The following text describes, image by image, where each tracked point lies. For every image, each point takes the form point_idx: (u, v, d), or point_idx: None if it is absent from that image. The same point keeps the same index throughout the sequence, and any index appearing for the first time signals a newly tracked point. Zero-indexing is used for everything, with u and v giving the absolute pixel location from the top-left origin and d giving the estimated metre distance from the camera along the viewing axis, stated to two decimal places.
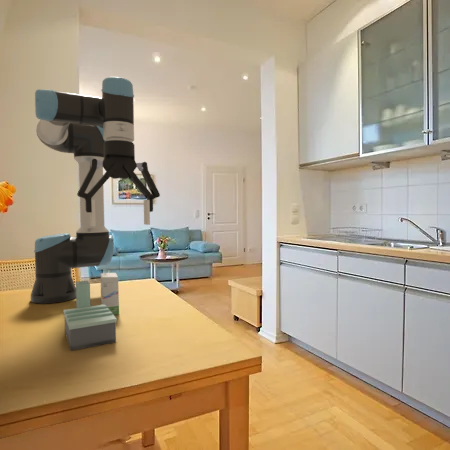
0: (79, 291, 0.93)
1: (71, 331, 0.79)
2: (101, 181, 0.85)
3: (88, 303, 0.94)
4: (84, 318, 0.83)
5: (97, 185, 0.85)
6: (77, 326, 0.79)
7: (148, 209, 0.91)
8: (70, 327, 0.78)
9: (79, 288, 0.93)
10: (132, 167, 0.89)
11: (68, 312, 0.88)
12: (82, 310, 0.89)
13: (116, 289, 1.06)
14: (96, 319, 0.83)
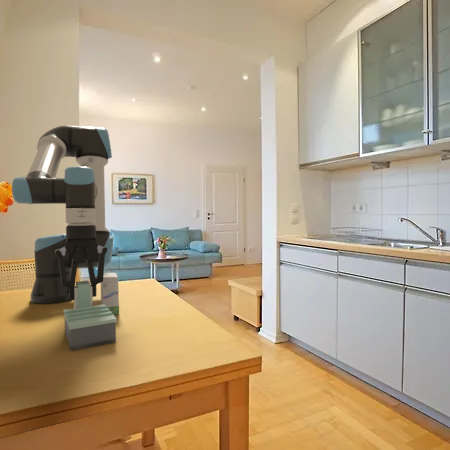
0: (79, 291, 0.93)
1: (71, 331, 0.79)
2: (73, 267, 0.93)
3: (88, 303, 0.94)
4: (84, 318, 0.83)
5: (72, 273, 0.93)
6: (77, 326, 0.79)
7: (91, 295, 0.95)
8: (70, 327, 0.78)
9: (79, 288, 0.93)
10: (92, 247, 0.95)
11: (68, 312, 0.88)
12: (82, 310, 0.89)
13: (116, 289, 1.06)
14: (96, 319, 0.83)
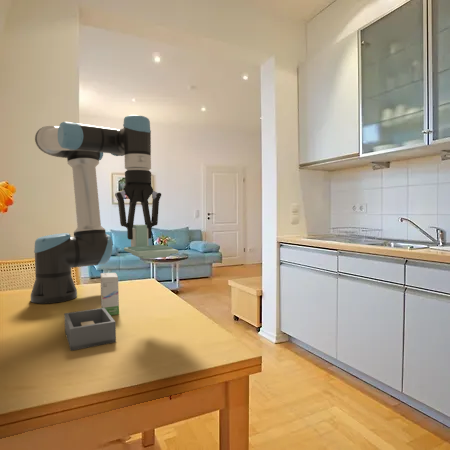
0: (137, 231, 1.00)
1: (71, 331, 0.79)
2: (132, 209, 1.00)
3: (145, 243, 1.01)
4: (148, 249, 0.90)
5: (131, 214, 1.00)
6: (145, 253, 0.86)
7: (147, 236, 1.03)
8: (139, 254, 0.85)
9: (137, 228, 1.00)
10: (148, 191, 1.03)
11: (130, 247, 0.95)
12: (142, 246, 0.97)
13: (116, 289, 1.06)
14: (160, 250, 0.90)
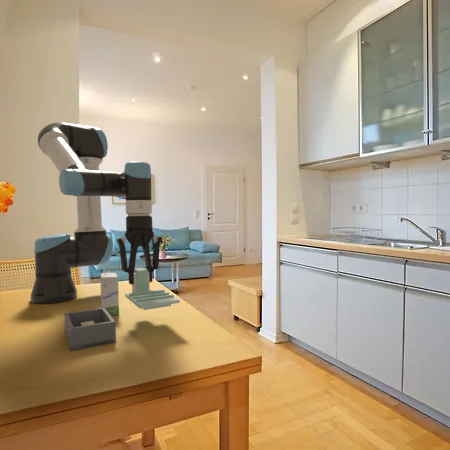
0: (139, 276, 1.00)
1: (71, 331, 0.79)
2: (133, 255, 1.01)
3: (146, 288, 1.02)
4: (150, 299, 0.91)
5: (132, 259, 1.01)
6: (146, 306, 0.87)
7: (148, 280, 1.03)
8: (141, 306, 0.86)
9: (139, 274, 1.00)
10: (149, 236, 1.03)
11: (132, 295, 0.95)
12: (143, 293, 0.97)
13: (116, 289, 1.06)
14: (161, 300, 0.90)
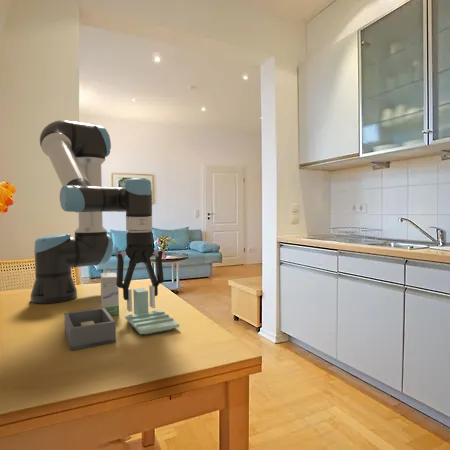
0: (139, 298, 1.01)
1: (71, 331, 0.79)
2: (131, 271, 1.01)
3: (146, 309, 1.02)
4: (150, 323, 0.91)
5: (129, 275, 1.00)
6: (146, 331, 0.87)
7: (153, 294, 1.04)
8: (141, 332, 0.86)
9: (139, 295, 1.01)
10: (150, 252, 1.03)
11: (132, 318, 0.96)
12: (143, 315, 0.97)
13: (116, 289, 1.06)
14: (161, 324, 0.91)
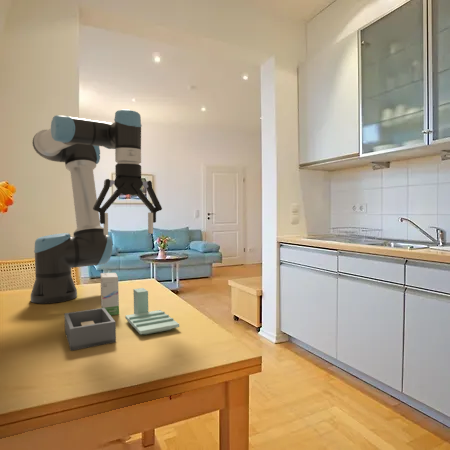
0: (139, 298, 1.01)
1: (71, 331, 0.79)
2: (113, 197, 1.02)
3: (146, 309, 1.02)
4: (150, 323, 0.91)
5: (110, 201, 1.02)
6: (146, 331, 0.87)
7: (152, 220, 1.08)
8: (141, 332, 0.86)
9: (139, 295, 1.01)
10: (139, 185, 1.06)
11: (132, 318, 0.96)
12: (143, 315, 0.97)
13: (116, 289, 1.06)
14: (161, 324, 0.91)
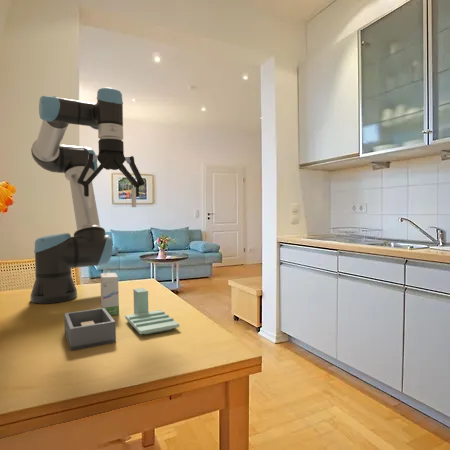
0: (139, 298, 1.01)
1: (71, 331, 0.79)
2: (96, 171, 1.07)
3: (146, 309, 1.02)
4: (150, 323, 0.91)
5: (93, 174, 1.06)
6: (146, 331, 0.87)
7: (135, 194, 1.13)
8: (141, 332, 0.86)
9: (139, 295, 1.01)
10: (121, 160, 1.10)
11: (132, 317, 0.96)
12: (143, 315, 0.97)
13: (116, 289, 1.06)
14: (161, 324, 0.91)
